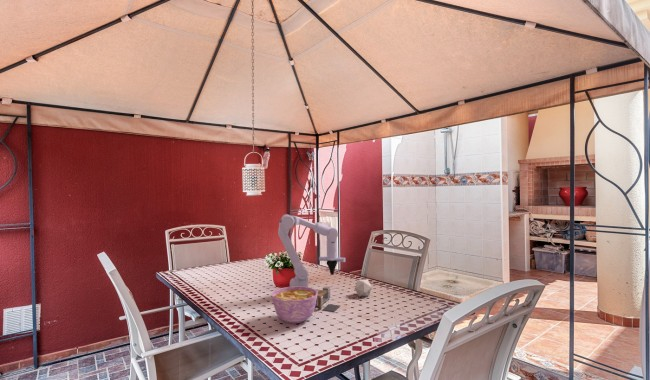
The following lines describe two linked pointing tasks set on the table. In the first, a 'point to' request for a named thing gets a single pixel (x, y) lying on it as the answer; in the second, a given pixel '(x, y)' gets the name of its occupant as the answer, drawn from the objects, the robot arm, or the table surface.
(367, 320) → the table surface
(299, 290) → the bowl of food
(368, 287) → the die
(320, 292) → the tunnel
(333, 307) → the dark grey plate
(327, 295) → the hook
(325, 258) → the robot arm
